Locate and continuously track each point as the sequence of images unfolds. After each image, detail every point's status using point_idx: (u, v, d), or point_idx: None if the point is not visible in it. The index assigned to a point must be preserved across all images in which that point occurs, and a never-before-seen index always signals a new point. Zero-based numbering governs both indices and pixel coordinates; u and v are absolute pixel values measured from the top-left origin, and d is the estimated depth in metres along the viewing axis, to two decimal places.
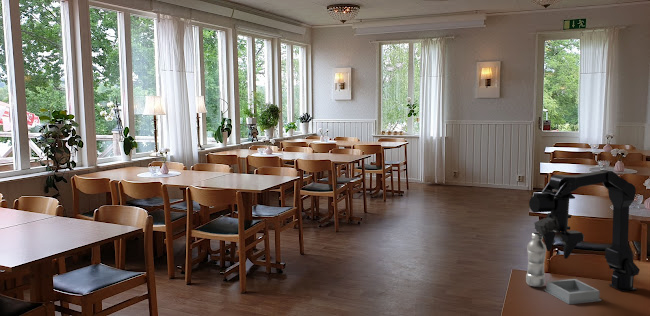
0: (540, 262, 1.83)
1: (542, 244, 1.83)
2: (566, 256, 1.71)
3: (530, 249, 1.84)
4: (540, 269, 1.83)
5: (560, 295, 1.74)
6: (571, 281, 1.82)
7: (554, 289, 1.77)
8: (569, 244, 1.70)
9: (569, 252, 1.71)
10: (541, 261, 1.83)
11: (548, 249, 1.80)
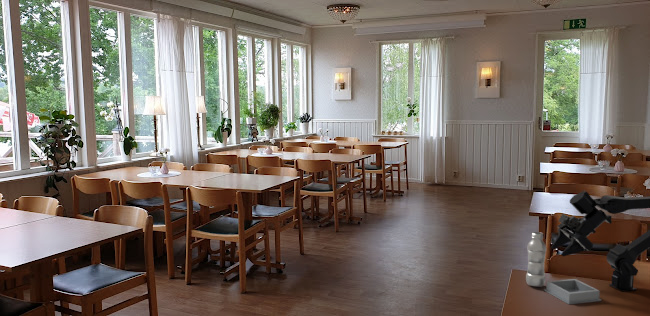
0: (540, 262, 1.83)
1: (542, 244, 1.83)
2: (564, 254, 1.79)
3: (530, 248, 1.84)
4: (540, 269, 1.83)
5: (560, 295, 1.74)
6: (571, 281, 1.82)
7: (554, 289, 1.77)
8: (574, 246, 1.78)
9: (569, 252, 1.79)
10: (541, 261, 1.83)
11: (553, 246, 1.89)
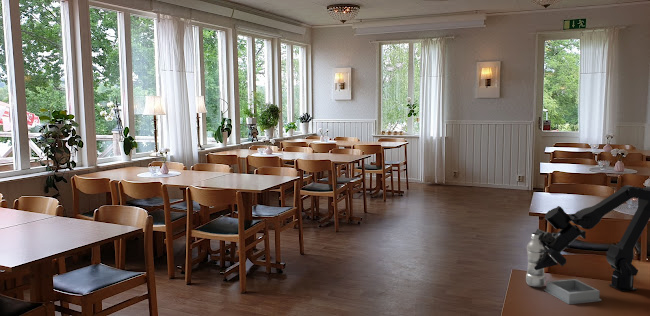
0: None
1: (542, 244, 1.82)
2: (537, 267, 1.82)
3: (530, 249, 1.83)
4: (539, 270, 1.83)
5: (560, 295, 1.74)
6: (571, 281, 1.82)
7: (554, 289, 1.77)
8: (547, 260, 1.80)
9: (542, 266, 1.81)
10: None
11: None
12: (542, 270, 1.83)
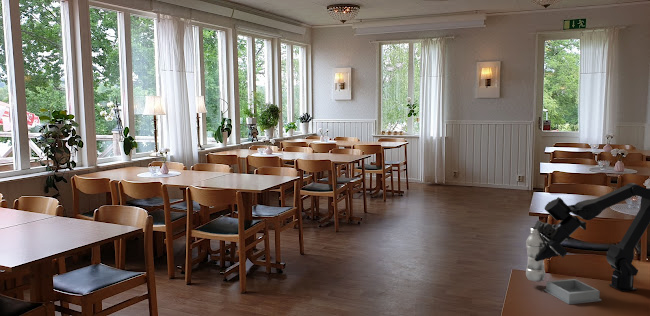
0: None
1: (541, 238, 1.82)
2: (537, 259, 1.82)
3: (529, 244, 1.83)
4: (539, 264, 1.83)
5: (560, 295, 1.74)
6: (571, 281, 1.82)
7: (554, 289, 1.77)
8: (547, 252, 1.80)
9: (542, 258, 1.81)
10: None
11: None
12: (542, 264, 1.83)
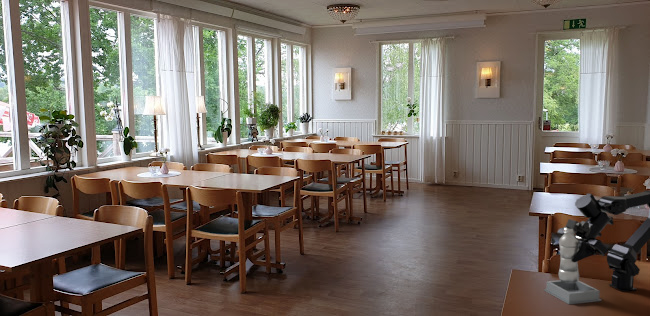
0: None
1: (576, 238, 1.74)
2: (575, 259, 1.73)
3: (565, 245, 1.74)
4: (575, 265, 1.74)
5: (560, 295, 1.74)
6: None
7: (554, 289, 1.77)
8: (585, 251, 1.73)
9: (580, 258, 1.73)
10: None
11: None
12: (577, 265, 1.75)
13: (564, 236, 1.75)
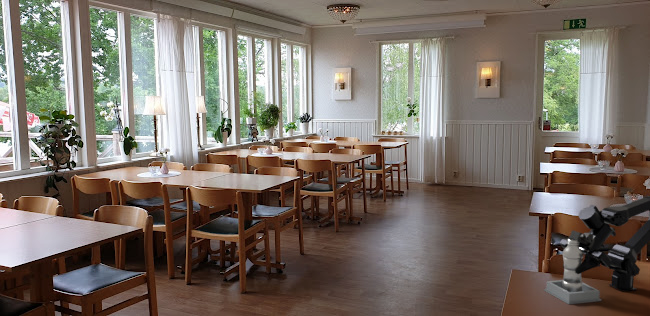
0: None
1: (580, 250, 1.73)
2: (579, 271, 1.73)
3: (569, 257, 1.73)
4: (579, 276, 1.74)
5: (560, 295, 1.74)
6: None
7: (554, 289, 1.77)
8: (588, 263, 1.73)
9: (583, 270, 1.73)
10: None
11: None
12: (580, 276, 1.75)
13: (568, 248, 1.74)
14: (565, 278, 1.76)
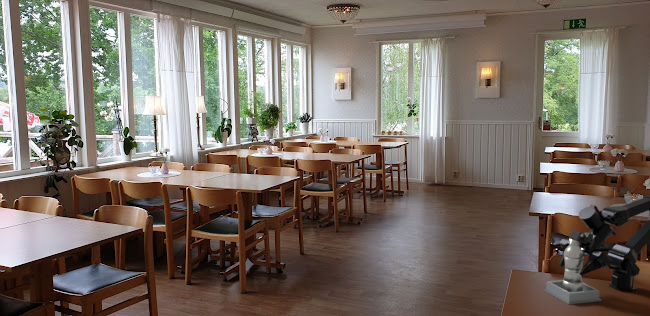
0: (580, 269, 1.74)
1: (581, 250, 1.74)
2: (582, 272, 1.71)
3: (571, 256, 1.73)
4: (579, 276, 1.74)
5: (560, 295, 1.74)
6: None
7: (554, 289, 1.77)
8: (592, 264, 1.71)
9: (587, 271, 1.71)
10: (581, 267, 1.74)
11: (561, 264, 1.80)
12: (581, 276, 1.75)
13: (569, 247, 1.75)
14: (566, 278, 1.76)
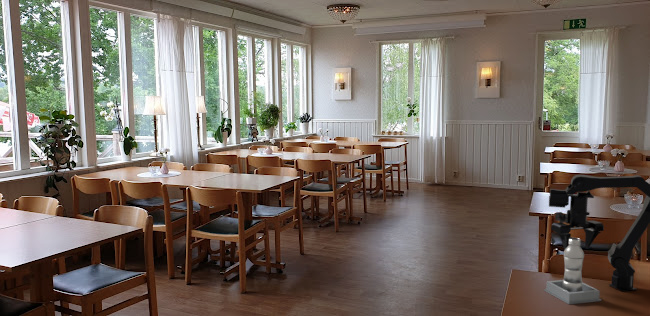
0: (580, 269, 1.74)
1: (581, 250, 1.74)
2: (564, 247, 1.87)
3: (570, 256, 1.73)
4: (579, 276, 1.74)
5: (560, 295, 1.74)
6: None
7: (554, 289, 1.77)
8: (564, 236, 1.86)
9: (565, 244, 1.86)
10: (581, 267, 1.74)
11: (586, 246, 1.90)
12: (581, 276, 1.75)
13: (569, 247, 1.75)
14: (565, 278, 1.76)
